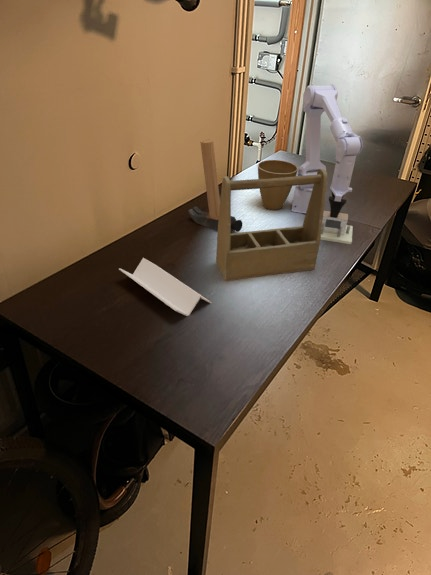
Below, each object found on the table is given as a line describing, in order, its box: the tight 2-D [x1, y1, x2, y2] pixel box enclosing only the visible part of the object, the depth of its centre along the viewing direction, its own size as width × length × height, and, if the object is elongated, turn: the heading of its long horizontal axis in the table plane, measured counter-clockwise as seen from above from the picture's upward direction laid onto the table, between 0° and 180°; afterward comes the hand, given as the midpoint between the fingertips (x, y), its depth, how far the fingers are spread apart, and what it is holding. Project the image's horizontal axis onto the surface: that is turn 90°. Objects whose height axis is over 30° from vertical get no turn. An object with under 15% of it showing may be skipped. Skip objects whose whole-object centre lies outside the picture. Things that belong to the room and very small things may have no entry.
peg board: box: [320, 224, 353, 245], centre depth 151 cm, size 15×12×4 cm
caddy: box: [215, 169, 328, 282], centre depth 124 cm, size 29×11×30 cm, turn 105°
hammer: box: [187, 139, 243, 233], centre depth 146 cm, size 20×5×30 cm, turn 52°
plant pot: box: [257, 159, 299, 211], centre depth 164 cm, size 15×15×16 cm
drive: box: [322, 210, 349, 235], centre depth 149 cm, size 9×5×6 cm, turn 74°
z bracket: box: [118, 257, 213, 317], centre depth 119 cm, size 12×25×6 cm
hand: (334, 212), depth 147 cm, fingers open, 7 cm apart
